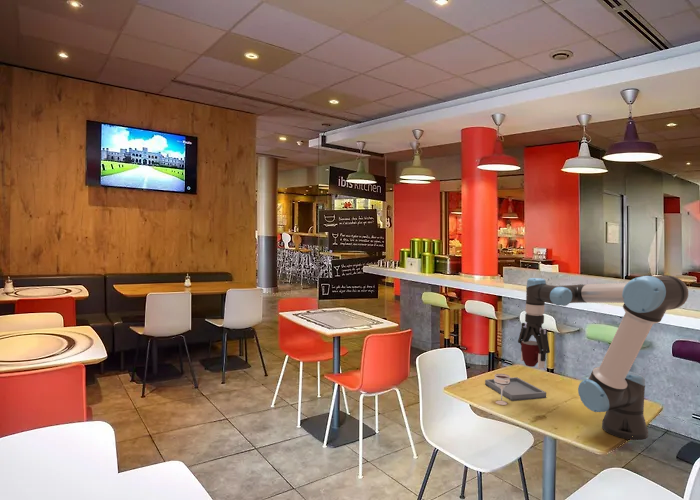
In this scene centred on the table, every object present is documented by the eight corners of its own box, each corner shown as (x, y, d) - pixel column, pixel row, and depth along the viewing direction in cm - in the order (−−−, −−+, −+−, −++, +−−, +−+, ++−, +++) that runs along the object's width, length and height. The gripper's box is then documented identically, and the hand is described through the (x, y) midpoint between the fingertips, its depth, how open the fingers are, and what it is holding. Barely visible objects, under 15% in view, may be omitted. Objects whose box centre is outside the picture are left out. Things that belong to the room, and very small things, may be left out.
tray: (546, 397, 208) (546, 392, 208) (511, 400, 203) (511, 395, 203) (516, 382, 229) (517, 377, 229) (485, 384, 225) (485, 379, 225)
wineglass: (503, 399, 205) (504, 373, 205) (512, 404, 199) (513, 377, 198) (490, 400, 204) (491, 374, 203) (498, 406, 197) (499, 378, 197)
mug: (548, 369, 194) (549, 346, 193) (533, 370, 191) (534, 347, 191) (531, 361, 204) (532, 339, 203) (516, 363, 201) (517, 341, 201)
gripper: (561, 319, 186) (558, 372, 187) (525, 308, 208) (523, 356, 210) (545, 319, 184) (543, 373, 185) (510, 309, 206) (508, 356, 208)
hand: (532, 364), depth 197 cm, fingers closed on mug, 11 cm apart
